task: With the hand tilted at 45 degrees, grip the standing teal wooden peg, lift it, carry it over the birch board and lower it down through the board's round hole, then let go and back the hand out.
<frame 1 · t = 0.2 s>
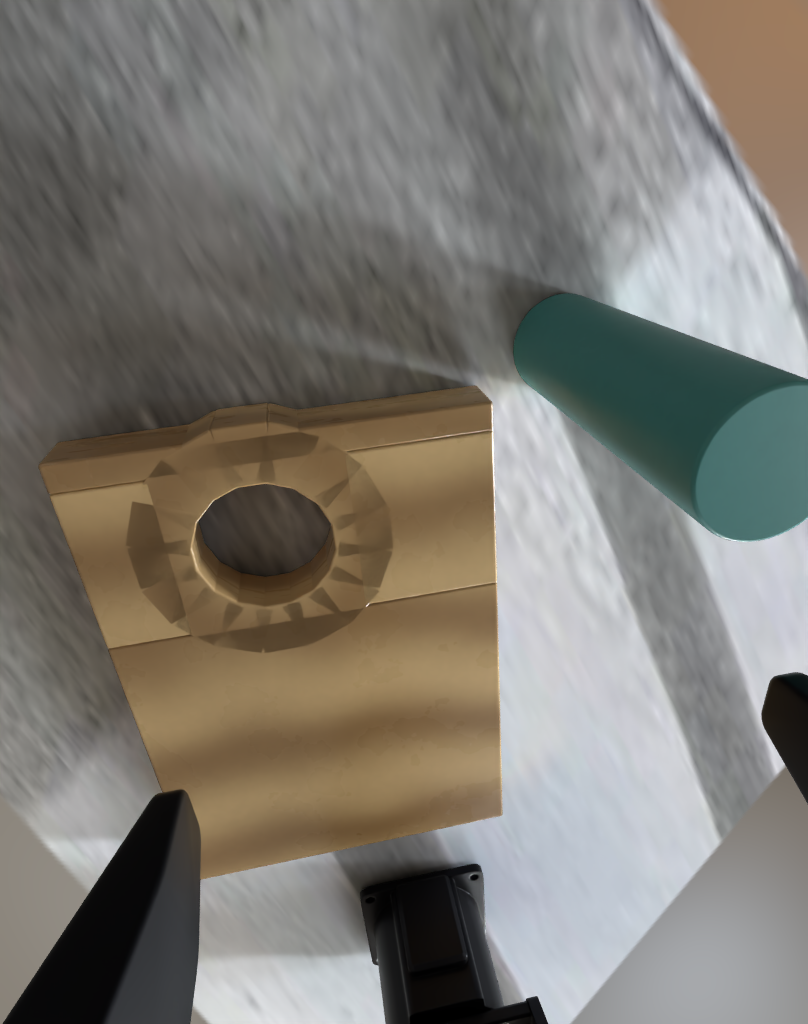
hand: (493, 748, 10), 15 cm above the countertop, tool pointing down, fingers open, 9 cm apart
peg: (560, 344, 22), on the countertop
board: (318, 646, 26), on the countertop
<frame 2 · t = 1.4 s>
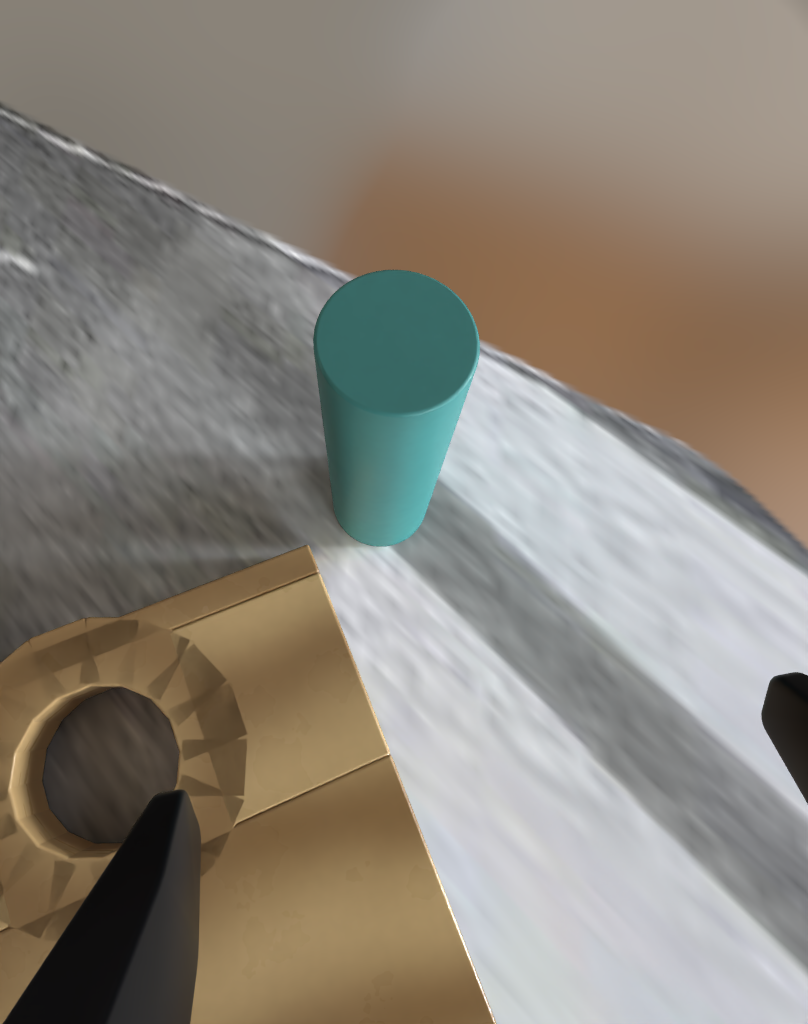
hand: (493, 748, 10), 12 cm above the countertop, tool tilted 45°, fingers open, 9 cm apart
peg: (380, 501, 24), on the countertop
board: (210, 946, 19), on the countertop
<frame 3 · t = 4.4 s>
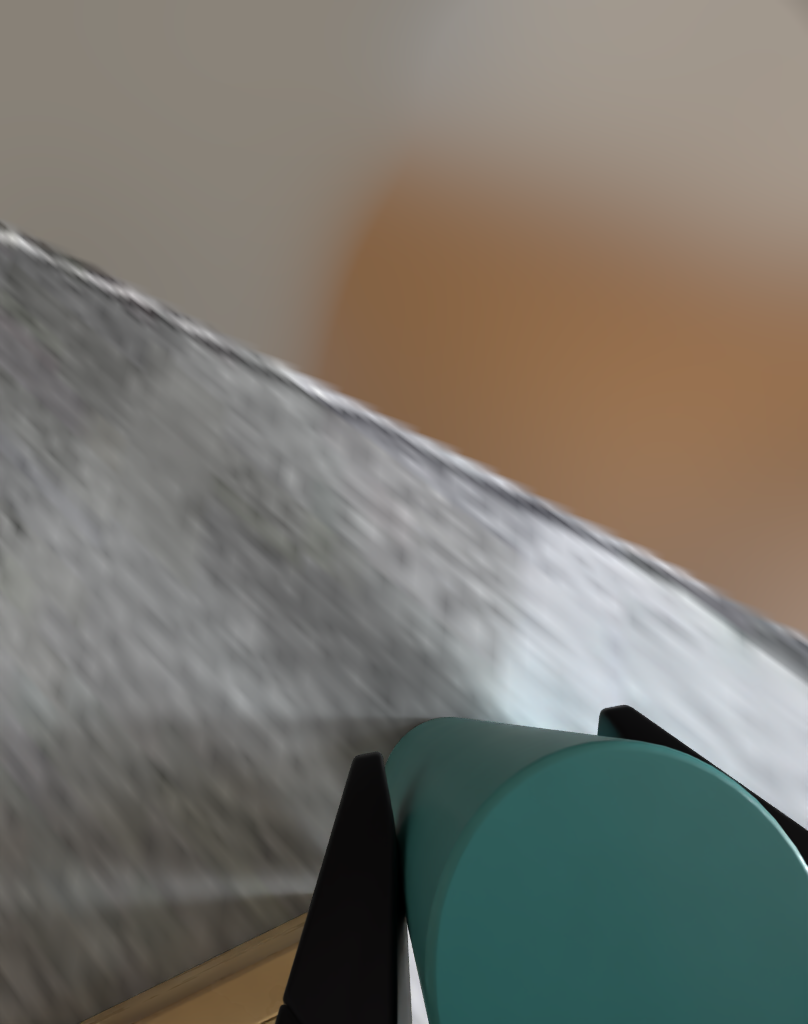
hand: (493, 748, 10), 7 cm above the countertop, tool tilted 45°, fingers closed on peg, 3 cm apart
peg: (450, 790, 16), on the countertop, touching gripper
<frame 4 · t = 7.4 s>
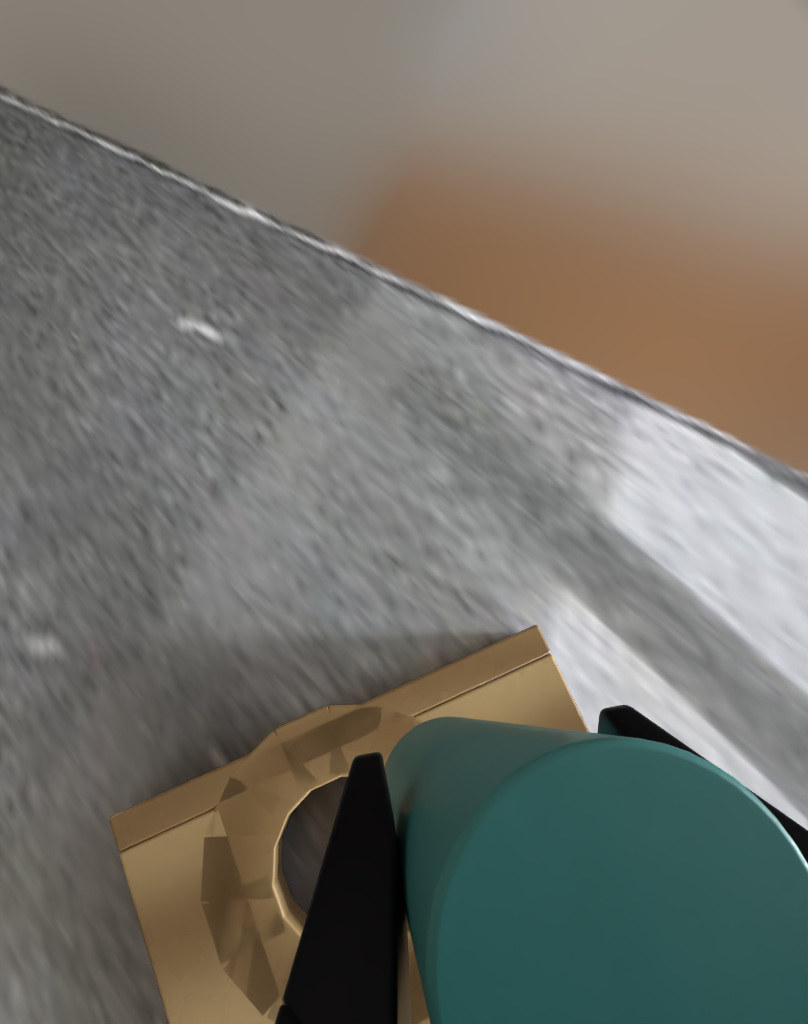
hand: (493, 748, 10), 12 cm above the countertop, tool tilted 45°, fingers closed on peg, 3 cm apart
peg: (450, 790, 16), point 6 cm above the countertop, touching gripper
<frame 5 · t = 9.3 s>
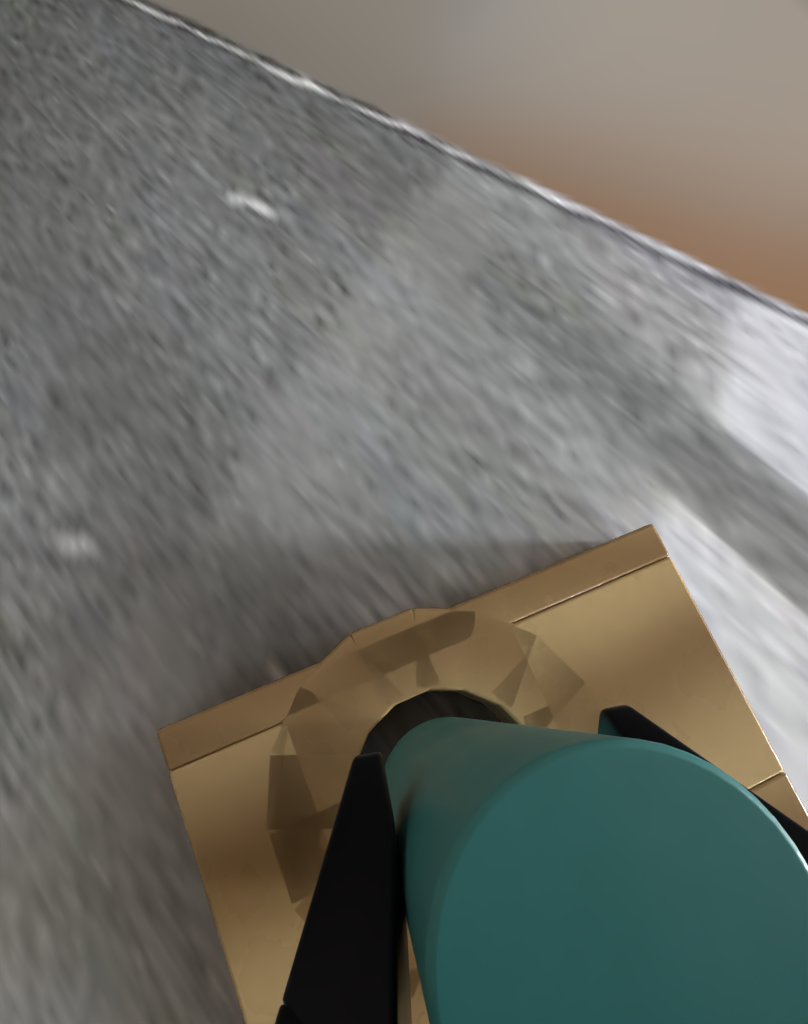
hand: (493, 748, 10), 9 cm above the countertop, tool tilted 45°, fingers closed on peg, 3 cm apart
peg: (450, 790, 16), point 2 cm above the countertop, touching gripper
board: (571, 999, 16), on the countertop
when the fingers open (7 cm above the countertop, at t = 10.3 s): peg stays where it is, resting in board.
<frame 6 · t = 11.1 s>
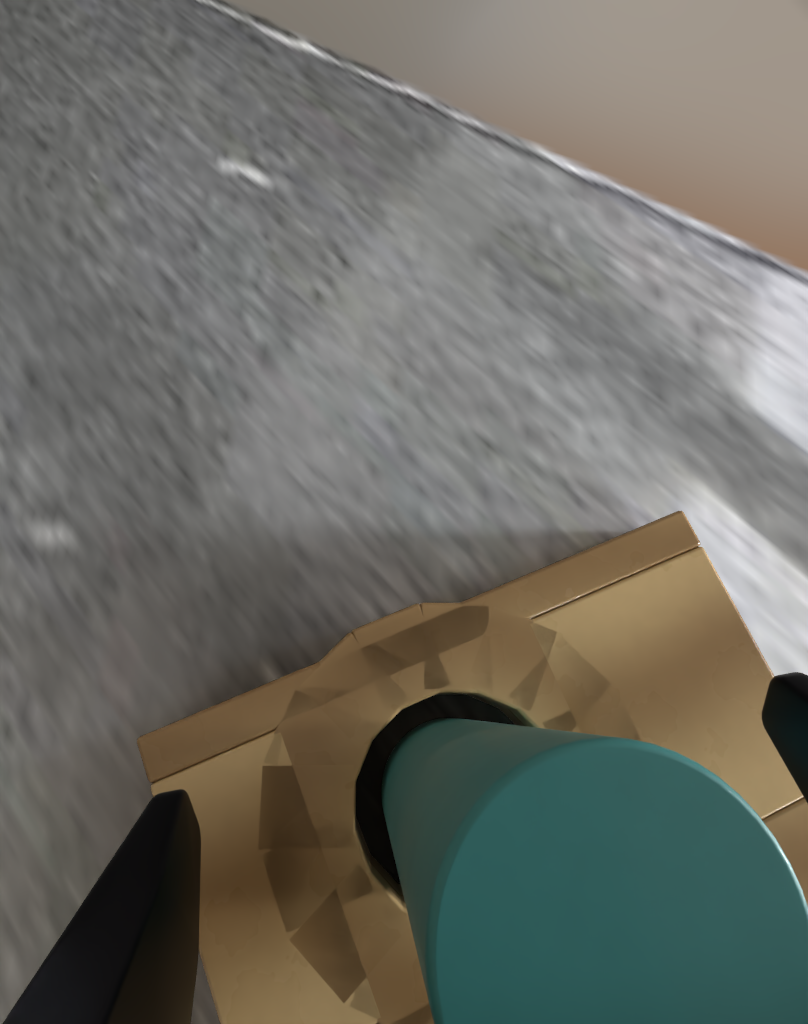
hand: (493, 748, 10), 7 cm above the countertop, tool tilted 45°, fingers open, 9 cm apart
peg: (449, 789, 16), resting in board
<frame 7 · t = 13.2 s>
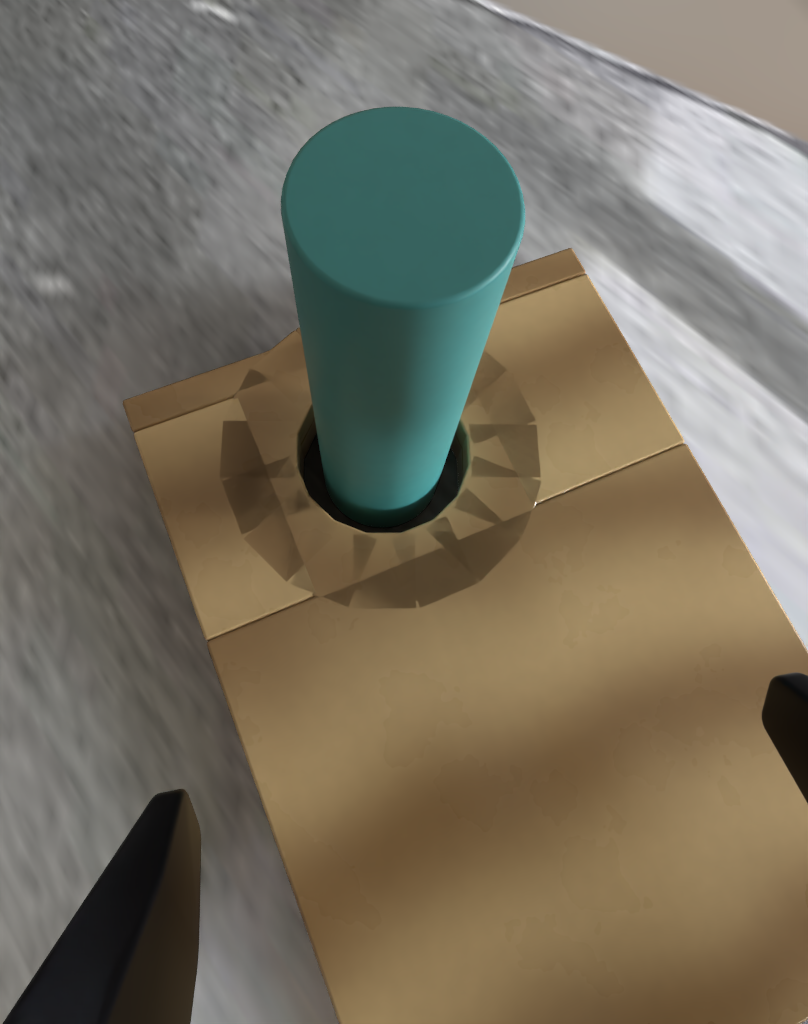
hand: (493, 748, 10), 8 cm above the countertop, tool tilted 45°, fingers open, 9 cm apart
peg: (381, 473, 19), resting in board
board: (497, 648, 18), on the countertop
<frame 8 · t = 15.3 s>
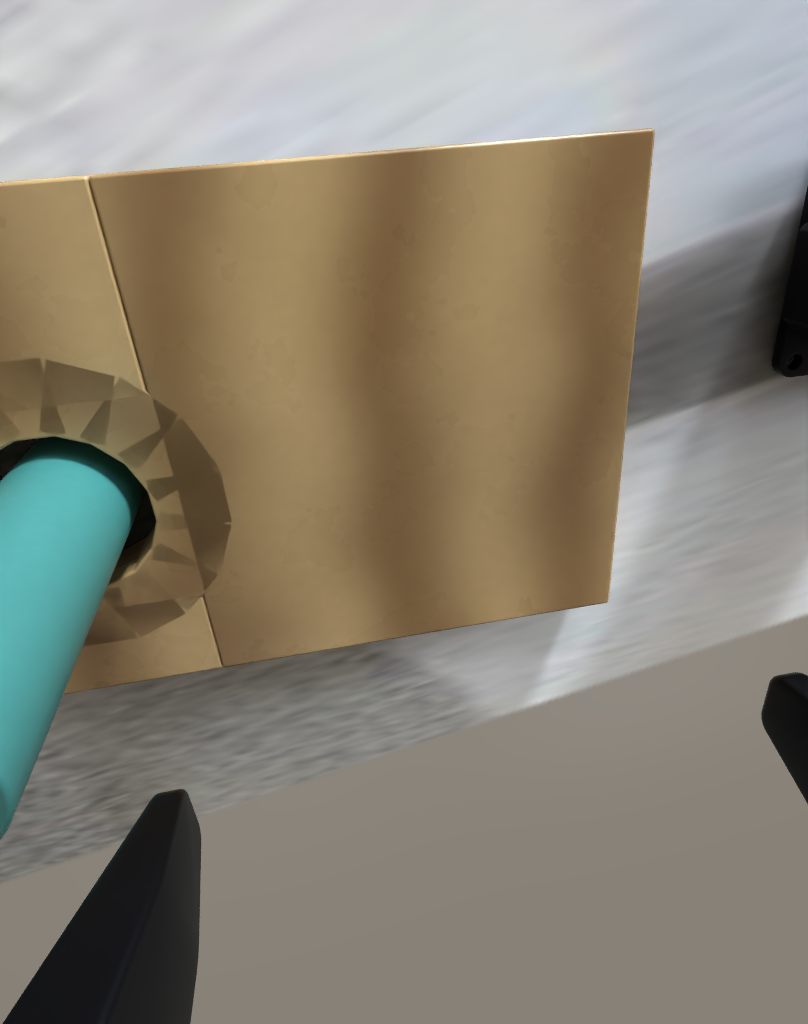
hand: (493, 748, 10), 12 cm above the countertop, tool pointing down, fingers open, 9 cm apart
peg: (81, 486, 19), resting in board
board: (281, 429, 19), on the countertop
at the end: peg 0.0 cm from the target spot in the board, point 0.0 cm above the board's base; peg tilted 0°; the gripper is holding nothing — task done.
